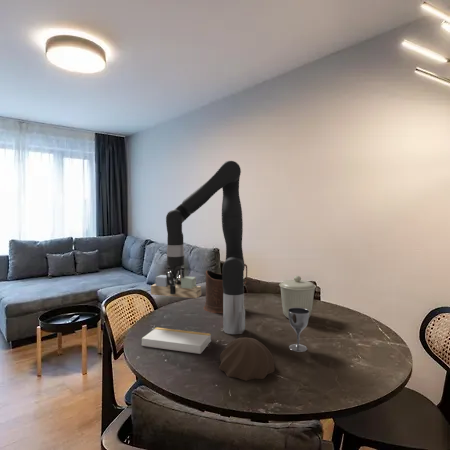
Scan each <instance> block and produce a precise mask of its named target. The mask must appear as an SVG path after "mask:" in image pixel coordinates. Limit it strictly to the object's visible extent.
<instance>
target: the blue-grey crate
mask: <svg viewBox="0 0 450 450" xmlns="http://www.w3.org/2000/svg"><path fill="white" fill-rule="evenodd" d="M169 282H170V280H169ZM155 284H156V286H163V287H166V286H168V285H167V276H166V274H160V275H157V276H155Z"/></svg>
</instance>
